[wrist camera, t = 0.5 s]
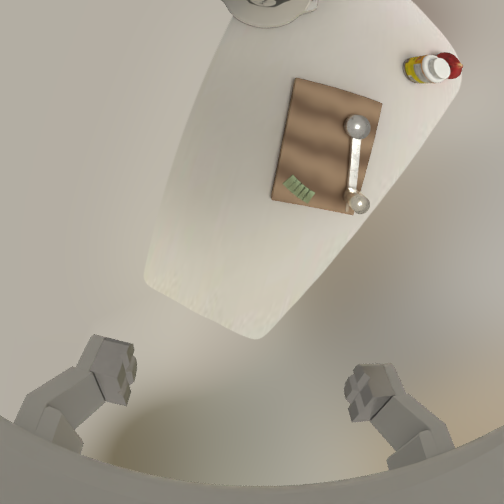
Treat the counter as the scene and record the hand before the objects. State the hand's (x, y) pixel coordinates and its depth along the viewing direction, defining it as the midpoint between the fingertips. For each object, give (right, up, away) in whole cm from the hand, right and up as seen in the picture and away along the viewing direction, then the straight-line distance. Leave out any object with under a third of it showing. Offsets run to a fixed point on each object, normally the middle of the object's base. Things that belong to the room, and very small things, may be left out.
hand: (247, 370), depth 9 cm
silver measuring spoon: (+19, +21, +38) cm, 48 cm away
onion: (+39, +43, +30) cm, 65 cm away
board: (+14, +23, +40) cm, 48 cm away
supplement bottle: (+32, +40, +31) cm, 60 cm away
